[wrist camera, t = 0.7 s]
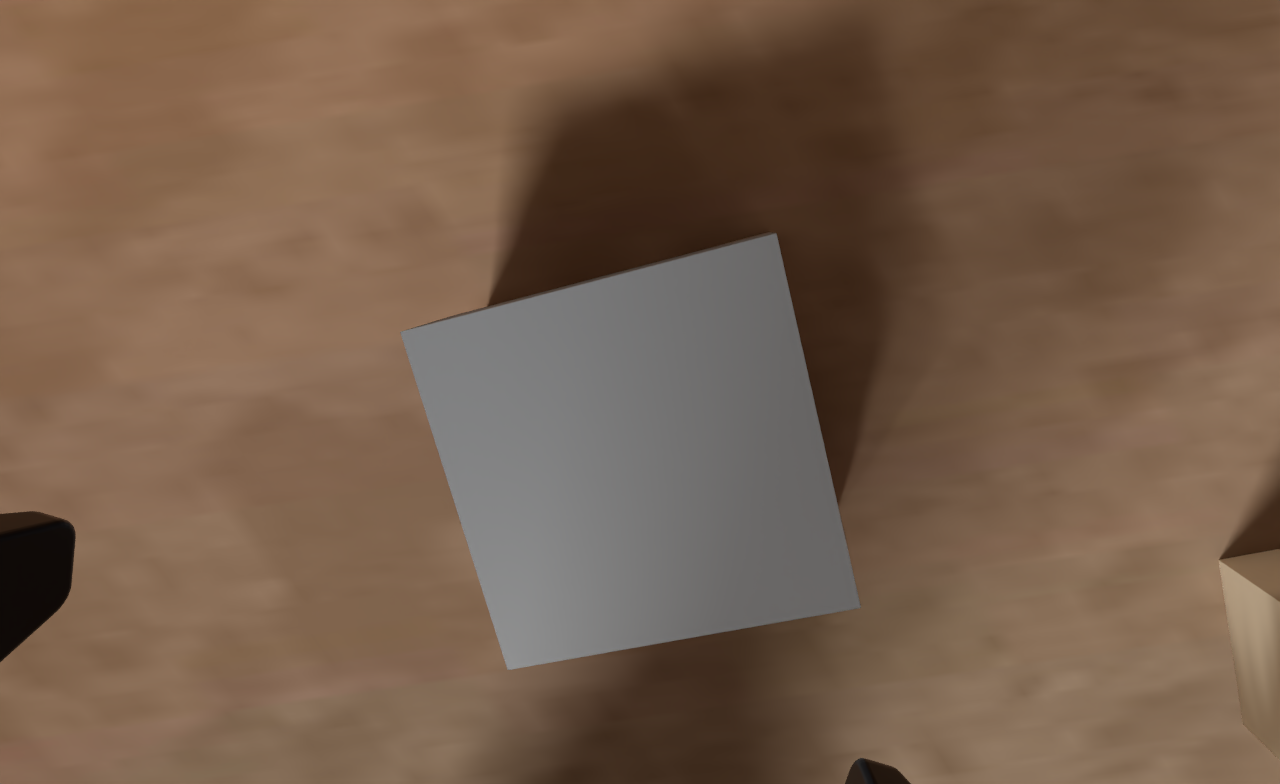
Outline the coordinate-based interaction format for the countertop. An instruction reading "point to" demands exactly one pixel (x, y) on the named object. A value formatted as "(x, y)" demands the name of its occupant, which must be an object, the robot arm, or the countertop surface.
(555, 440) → the slate block
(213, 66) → the countertop surface
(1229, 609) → the birch cube
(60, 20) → the countertop surface
